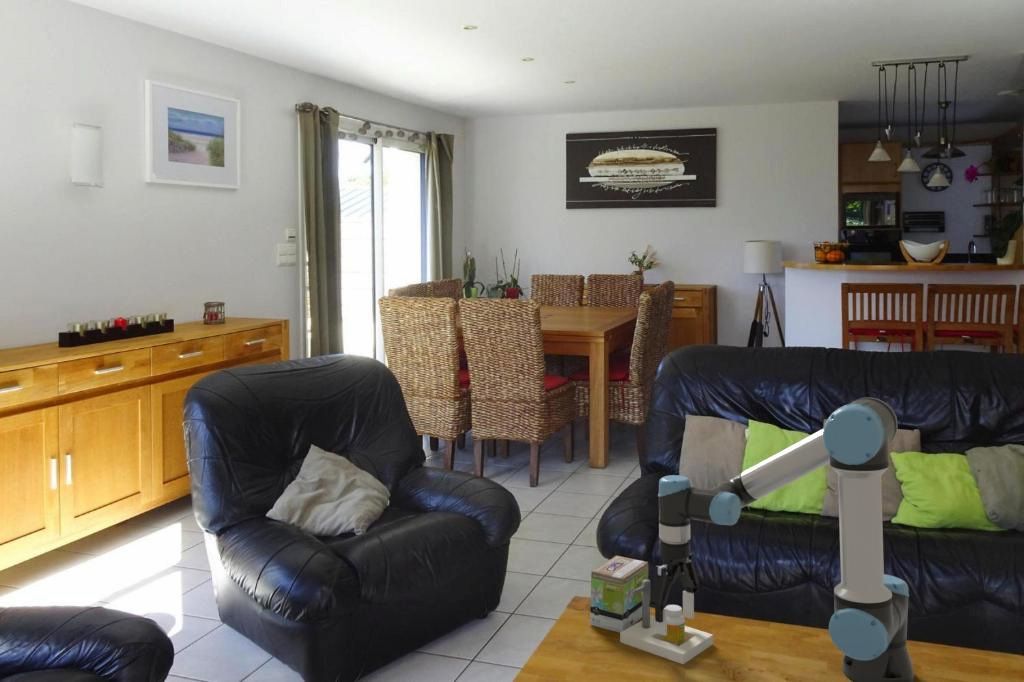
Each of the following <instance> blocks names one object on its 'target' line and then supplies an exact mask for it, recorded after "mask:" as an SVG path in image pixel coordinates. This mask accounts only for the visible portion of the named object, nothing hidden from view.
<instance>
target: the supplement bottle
mask: <svg viewBox="0 0 1024 682" xmlns="http://www.w3.org/2000/svg"><path fill="white" fill-rule="evenodd" d="M665 608H666V609H667V635H666V636H664V635H662V641H665V642H668V643H671V644H674V645H677V646H680V645H682V644H683V643H685V641H684V640H685V626H686V624H685V623H686V622H685V621H686V619H685V617H683V607H682V606H680V605H678V604H667V605H665Z"/></svg>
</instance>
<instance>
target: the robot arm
mask: <svg viewBox="0 0 1024 682" xmlns="http://www.w3.org/2000/svg"><path fill="white" fill-rule="evenodd" d="M898 426H899V425H898V418H897V415H896V413H895V411H894V409H893V408H892V407H891V406H890V405H889V404H888V403H886V402H885V401H883V400H882V399H879V398H875V397H867V396H866V397H861V398H858V399H855V400H853V401H852V402H850V403H848V404H845V405H843V406H840V407H838V408H837V409H836V410H835V411H833V412H832V413H831V415H829V417H828V418H827V419H826V421H825V424H824V427H823V428H821V429H819V430H817V431H815V432H814V433H812V434H810V435H808V436H806V437H804V438H801V440H799V441H797V442H795V443H793V444H792V445H790V446H788V447H786V448H784V449H782V450H780V451H778V452H777V453H775V454H773V455H771V456H770V457H769V456H768V458H765V459H763V460H762V461H760V462H758V463H756V464H754V465H753V466H751V467H748V468H747V469H745V470H743V471H742V472H740V473H738V474H736V475H734V476H732V477H729V478H727V479H726V480H725V481H723V482H722V483H720V484H718V485H716V486H714V487H712V488H710V489H705V488H697V487H693V486H691V485H692V484H691V481H690V478H689V477H687V476H684V475H677V474H672V475H666V476H663V477H661V478H660V479H659V481H658V493H657V497H658V523H659V524H658V537H659V541H658V553H659V556H661V558H662V559H663V561H662V565H655V569H654V570H655V571H654V578H653V584H652V588H651V592H650V603H649V607H650V609H651V608H653V609H654V610H655V611H654V614H655V615H654V616H655V620H656V633H658V634H661V635H664V636H666V635H667V609H666V606H667V601H668V599H669V595H670V592H671V589H672V587H673V584H675V583H676V579H679V580H680V582H681V584H682V586H683V589H684V590H683V591H682V616H683V617H684V618H687V619H690V620H694V619H695V609H694V608H695V594H697V593H699V587H700V582H699V577H698V575H697V570H696V566H695V563H694V553H691V520H694V521H699V522H704V523H705V522H706V523H711V524H716V525H719V526H733V525H735V524H737V523H738V520H739V518H740V516H741V513H742V512H741V511H742V509H744V508H745V507H746V506H748V505H750V504H752V503H754V502H756V501H758V500H760V499H762V498H763V497H764V498H765V496H768V495H769V494H772V493H773V492H775V491H777V490H780V489H782V488H783V487H785V486H787V485H789V484H792V483H793V482H796V481H798V480H800V479H801V478H803V477H806V476H807V475H809V474H811V473H813V472H815V471H817V470H819V469H821V468H823V467H825V466H827V465H829V464H830V465H829V467H830V468H831V469H832V470H833V471H834V472H835V473H836V474H837V487H838V488H837V489H838V521H839V522H838V523H839V525H838V526H839V550H840V551H839V556H840V583H838V584H837V585H836V586H835V587H834V588H833V598H834V601H833V602H834V603H833V604H834V605H833V606H834V610H833V611H834V613H833V614H832V615H831V616H830V619H829V624H828V632H829V637H830V639H831V641H832V643H833V644H834V646H835V647H836V648H837V649H838V650H839V651H840V652H841V653H842V654H844V655H843V657H842V663H841V664H842V666H841V667H842V668H841V669H842V672H843V674H844V675H845V676H846V677H847V678H849V679H850V680H851V681H853V682H914V675H915V671H914V667H913V664H912V659H911V656H910V653H909V650H908V647H907V637H908V634H907V633H908V616H909V615H908V612H909V597H910V593H909V586H908V584H907V581H905V580H903V579H901V578H899V577H897V576H894V575H889V574H885V572H884V571H885V570H884V563H885V562H884V532H883V531H884V530H883V496H882V495H883V494H882V493H883V491H882V475H883V474H884V473H885V472H886V471H887V470H888V469H889V467H890V466H889V461H890V459H889V458H890V457H889V444H890V443H892V441H893V440H894V439H895V437H896V435H897V433H898V432H897V431H898V428H899V427H898Z"/></svg>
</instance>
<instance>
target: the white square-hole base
mask: <svg viewBox="0 0 1024 682" xmlns="http://www.w3.org/2000/svg"><path fill="white" fill-rule="evenodd" d="M641 592H642V618H641V620H639V622H638V621H637V622H635V623H634V624H633V625H632V626H630V627H629V628H627V629H626V630H624V631H622V632H619V633H620V634H619V635H620V636H619V638H620V639H619V642H620V643H621V644H624V645H627V646H630V647H632V648H636V649H638V650H641V651H644V652H647V653H650V654H652V655H656V656H659V657H660V658H664V659H667V660H670V661H673V662H675V663H678V664H681V665H684V664H686V663H687V662H689V661H690V660H692V659H693V658H695V657H696V656H698V655H699V654H701V653H703V652H704V651H705V650H707V649H708V648H710V647H711V646H713V645H714V634H713V633H712V634H711V633H709V632H706V631H703V630H699V629H696V628H695V627H694V628H693V627H690V626H688V625H685V640H684V643H683V644H682V645H680V646H677V645H674V644H671V643H668V642H665V641H662V635H661V634H658V633H656V620H655V615H652V614H651V607H649V603H650V598H651V580H650V579H648V580H647V579H645V580H642V586H641V587H639V588H637V589H635V590H634V591H632V594H633V595H634V596H635V595H637V594H639V593H641Z"/></svg>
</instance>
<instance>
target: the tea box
mask: <svg viewBox="0 0 1024 682" xmlns="http://www.w3.org/2000/svg"><path fill="white" fill-rule="evenodd" d="M590 579H591V580H590V608H589V609H590V612H589V614H590V615H589V625H590V626H594V627H597V628H600V629H605V630H609V631H613V632H616V633H620V632H622V631H624V630H626V629H627V628H629V627H631V626H633V625H634V624H636V623H638V621H640V620H641V619H642V592H641V593H639V594H637V595H635V596H634V595H633V594H632V591H634V590H635V589H637V588H639V587H641V586H642V580H645V579H647V580H649V562H648V561H644V560H639V559H635V558H630V557H625V556H621V555H615V556H613V557H612V558H611V559H609V560H608V561H606V562H604V563H603V564H601V565H599V566H597V567H596V568H594V569H593V570H592V571H591V575H590Z"/></svg>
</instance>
